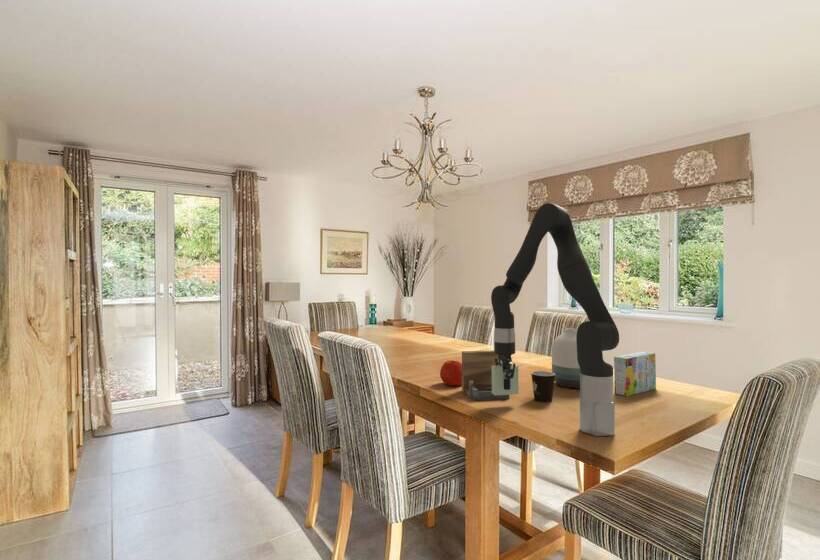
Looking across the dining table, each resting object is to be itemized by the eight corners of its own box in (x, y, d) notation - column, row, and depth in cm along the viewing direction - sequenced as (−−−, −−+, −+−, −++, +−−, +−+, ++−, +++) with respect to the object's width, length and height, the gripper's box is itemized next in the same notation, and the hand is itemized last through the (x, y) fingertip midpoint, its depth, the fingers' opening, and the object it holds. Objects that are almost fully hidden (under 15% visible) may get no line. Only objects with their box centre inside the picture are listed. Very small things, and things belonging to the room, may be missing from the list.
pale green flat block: (518, 394, 158) (518, 366, 158) (494, 395, 156) (494, 367, 156) (515, 392, 161) (514, 364, 161) (491, 393, 159) (491, 365, 159)
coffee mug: (556, 403, 160) (556, 376, 160) (532, 402, 162) (532, 375, 162) (552, 395, 172) (552, 369, 172) (529, 394, 174) (529, 368, 173)
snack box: (643, 386, 186) (643, 351, 186) (656, 389, 181) (656, 352, 181) (613, 393, 174) (613, 355, 174) (626, 397, 170) (626, 358, 170)
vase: (566, 391, 177) (566, 332, 177) (544, 381, 194) (544, 327, 193) (603, 389, 181) (603, 331, 181) (578, 379, 198) (578, 326, 197)
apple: (435, 384, 189) (435, 359, 189) (452, 380, 197) (452, 356, 197) (453, 389, 181) (453, 363, 181) (470, 384, 189) (470, 360, 189)
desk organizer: (510, 398, 167) (510, 356, 167) (472, 400, 165) (472, 357, 164) (497, 389, 181) (497, 350, 181) (461, 390, 179) (461, 351, 179)
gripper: (522, 342, 153) (523, 392, 152) (506, 337, 166) (507, 383, 166) (502, 343, 151) (502, 393, 151) (487, 338, 165) (488, 384, 165)
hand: (505, 388), depth 159 cm, fingers closed on pale green flat block, 3 cm apart
